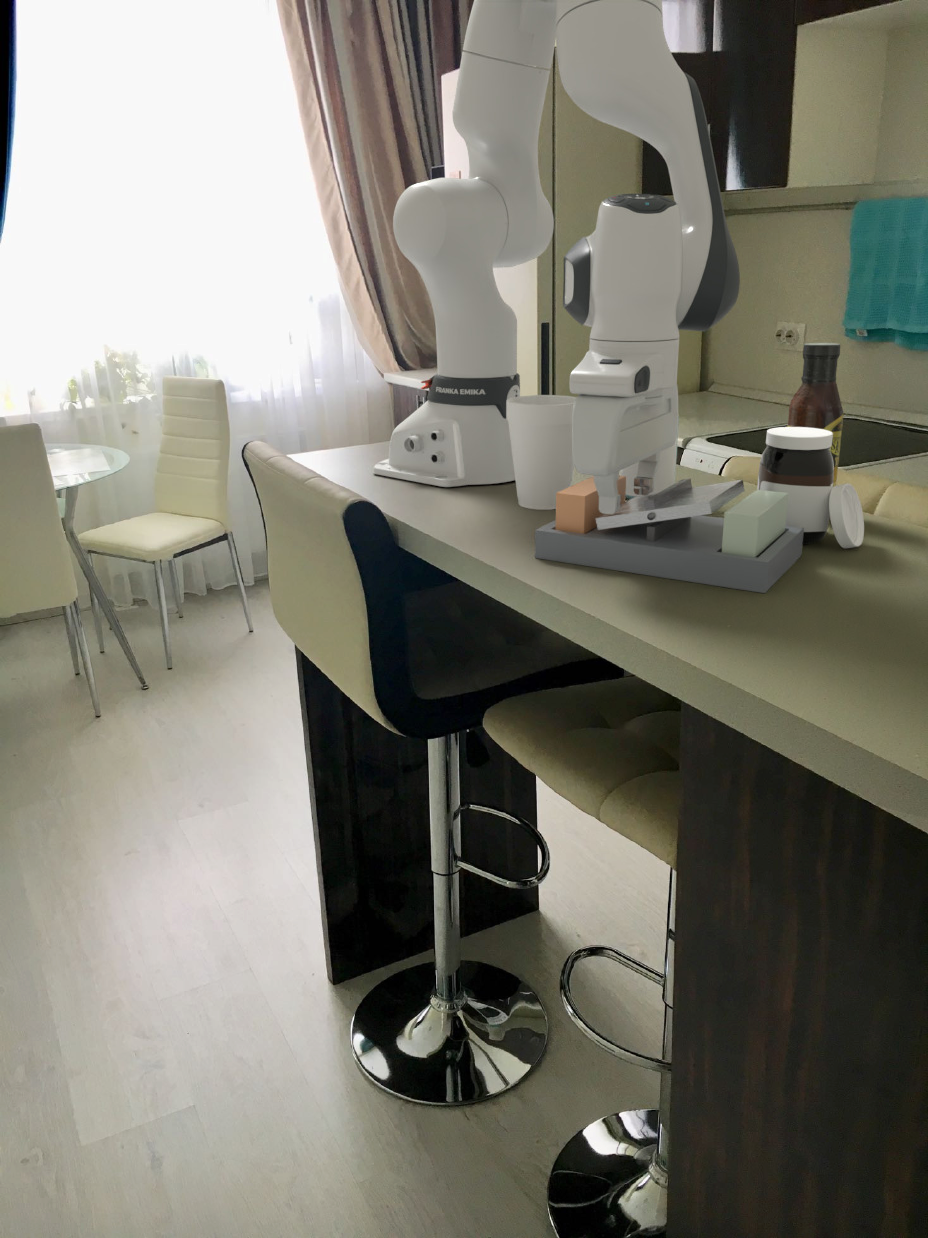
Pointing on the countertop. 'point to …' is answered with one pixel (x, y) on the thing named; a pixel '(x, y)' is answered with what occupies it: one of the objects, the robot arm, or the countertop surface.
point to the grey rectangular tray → (673, 552)
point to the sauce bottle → (819, 395)
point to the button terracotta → (582, 505)
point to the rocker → (672, 504)
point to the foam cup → (541, 447)
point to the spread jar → (810, 485)
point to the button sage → (754, 523)
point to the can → (663, 474)
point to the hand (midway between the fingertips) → (627, 502)
